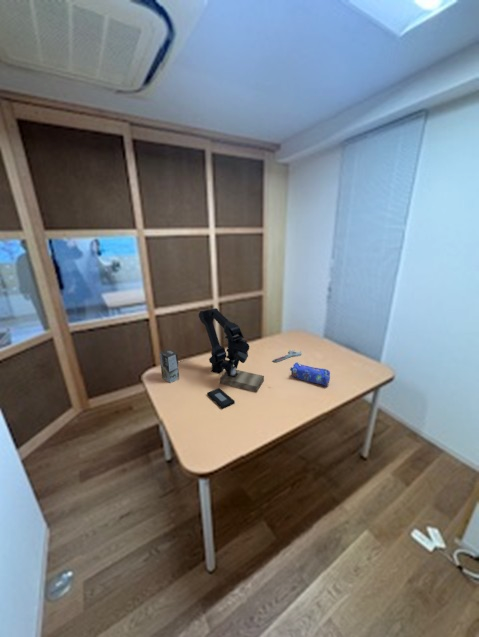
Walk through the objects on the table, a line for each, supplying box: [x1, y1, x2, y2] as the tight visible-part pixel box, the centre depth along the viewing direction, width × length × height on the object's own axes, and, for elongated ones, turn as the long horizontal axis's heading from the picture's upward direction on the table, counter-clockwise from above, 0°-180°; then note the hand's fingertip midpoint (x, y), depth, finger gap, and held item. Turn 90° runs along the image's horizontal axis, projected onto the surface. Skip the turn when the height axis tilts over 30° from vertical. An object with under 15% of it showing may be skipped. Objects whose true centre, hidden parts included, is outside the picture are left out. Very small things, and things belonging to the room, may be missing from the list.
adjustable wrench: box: [272, 349, 303, 363], centre depth 179 cm, size 8×26×2 cm, turn 120°
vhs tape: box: [206, 387, 236, 410], centre depth 132 cm, size 8×14×2 cm, turn 37°
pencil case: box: [289, 362, 331, 386], centre depth 149 cm, size 22×9×10 cm, turn 62°
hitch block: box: [219, 369, 265, 393], centre depth 147 cm, size 22×12×4 cm, turn 67°
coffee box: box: [159, 349, 180, 384], centre depth 148 cm, size 9×6×16 cm
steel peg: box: [230, 366, 237, 378], centre depth 148 cm, size 4×4×8 cm
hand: (232, 372), depth 148 cm, fingers open, 9 cm apart
